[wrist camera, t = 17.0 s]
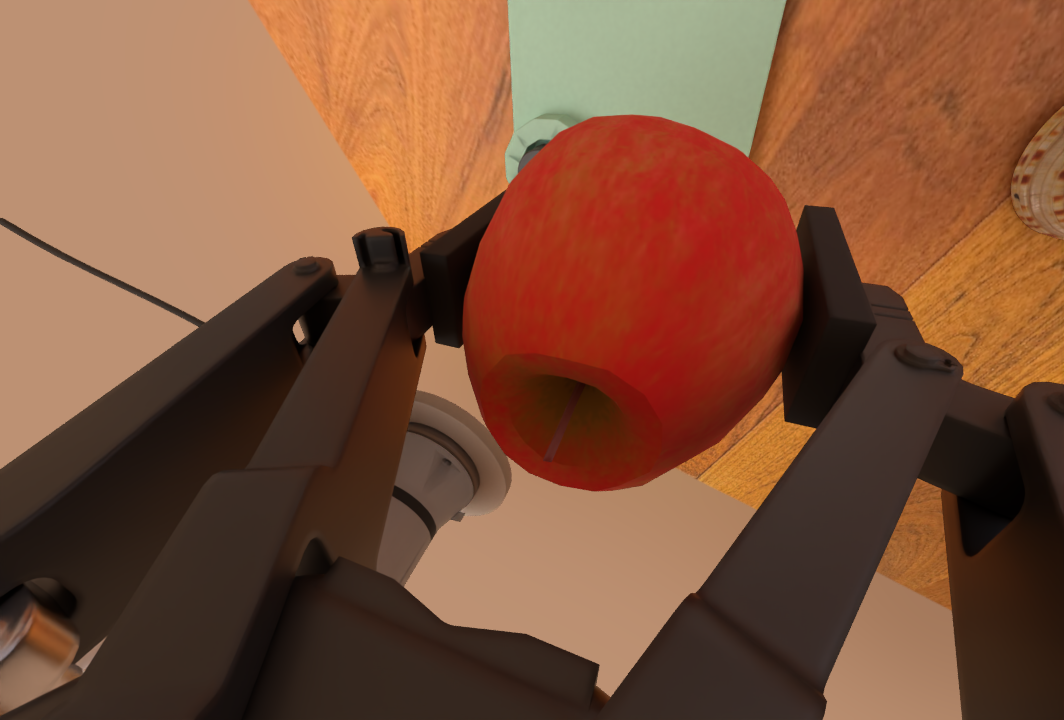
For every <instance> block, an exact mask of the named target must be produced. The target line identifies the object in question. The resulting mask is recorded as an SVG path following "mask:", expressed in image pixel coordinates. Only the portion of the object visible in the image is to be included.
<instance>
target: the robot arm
mask: <svg viewBox="0 0 1064 720" xmlns="http://www.w3.org/2000/svg"><path fill="white" fill-rule="evenodd" d="M505 192H506V190H505V191H504V192H502V193H501V194H500V195H498V196H497V197H495V198H494V199H493V200H491V201H490V202H489V203H487V204H486V205H484V206H483V207H482V208H480V209H479V210H477V211H476V212H475V213H473V214H472V215H471V216H469V217H468V218H466V219H465V220H464V221H462V222H461V223H459V224H458V225H457V226H455V227H454V228H453V229H450V230H447V231H444V232H441V233H439V234H437V235H435V236H434V237H433V238H431V239H430V240H429V241H428V242H426V243H424V244H423V245H421V247H418V248H417V249H416V250H414V251H413V252H411V253H410V254H408V249H407V243H406V238H405V233H404V231H402V230H401V229H399V228H395V227H377V228H371V229H367V230H363V231H361V232H359V233H357V234H355V235H354V236H353V237H352V240H353V244H354V247H355V251H356V255H357V259H358V262H359V266H360V268H359V270H358V272H357V274H356V275H336V271H335V268H334V265H333V262H332V261H331V260H330V259H327V258H322V257H307V258H306V257H304V258H300V259H299V260H297V261H294V262H292V263H290V264H288V265H286V266H284V267H283V268H282V269H280V270H279V271H277V272H276V273H274V274H273V275H272V276H270V277H269V278H268V279H266V280H265V281H263V282H262V283H260V284H259V285H258V286H257V287H255V288H253V289H252V290H251V291H249V292H248V293H246V294H245V295H244V296H242V297H241V298H240V299H238V300H237V301H235V302H234V303H232V304H231V305H230V306H228V307H227V308H225V309H224V310H223V311H222V312H220V313H219V314H217V315H216V316H214V317H213V318H212V319H210V320H209V321H208V322H206V323H205V322H203V321H201V320H199V319H197V318H196V317H194V316H192V315H190V314H188V313H186V312H184V311H182V310H180V309H178V308H176V307H174V306H172V305H170V304H168V303H166V302H164V301H162V300H160V299H158V298H156V297H154V296H152V295H150V294H148V293H146V292H143V291H142V290H140V289H137V288H135V287H133V286H131V285H129V284H127V283H125V282H123V281H121V280H118V279H117V278H114V277H112V276H110V275H108V274H106V273H104V272H102V271H100V270H98V269H95V268H94V267H91V266H90V265H87V264H85V263H83V262H81V261H79V260H77V259H75V258H73V257H72V256H70V255H68V254H66V253H64V252H62V251H60V250H58V249H56V248H54V247H52V246H51V245H49V244H46V243H45V242H43V241H41V240H40V239H38V238H36V237H34V236H32V235H31V234H29V233H27V232H26V231H24V230H22V229H21V228H19V227H17V226H16V225H14V224H12V223H10V222H9V221H7V220H5V219H3V218H0V224H1V225H2V226H4V227H6V228H8V229H9V230H11V231H13V232H14V233H16V234H18V235H19V236H21V237H23V238H25V239H26V240H28V241H30V242H32V243H33V244H35V245H37V246H39V247H40V248H42V249H44V250H46V251H48V252H50V253H51V254H53V255H55V256H57V257H59V258H61V259H63V260H65V261H67V262H69V263H71V264H73V265H75V266H77V267H79V268H81V269H83V270H85V271H87V272H89V273H91V274H93V275H95V276H97V277H99V278H101V279H103V280H105V281H108V282H110V283H112V284H114V285H116V286H118V287H120V288H122V289H124V290H126V291H128V292H130V293H132V294H135V295H137V296H139V297H141V298H143V299H145V300H147V301H149V302H151V303H153V304H155V305H157V306H159V307H161V308H163V309H165V310H167V311H169V312H171V313H173V314H175V315H177V316H179V317H181V318H183V319H185V320H186V321H188V322H191V323H192V324H194V325H196V326H198V327H199V328H198V329H196V330H195V331H193V332H192V333H191V334H189V335H188V336H186V337H185V338H183V339H182V340H181V341H179V342H178V343H176V344H175V345H174V346H172V347H171V348H170V349H168V350H167V351H165V352H164V353H163V354H161V355H160V356H159V357H157V358H156V359H154V360H153V361H152V362H150V363H149V364H147V365H146V366H144V367H143V368H142V369H140V370H139V371H137V372H136V373H135V374H133V375H132V376H130V377H129V378H128V379H126V380H125V381H123V382H122V383H121V384H119V385H118V386H116V387H115V388H114V389H112V390H111V391H109V392H108V393H107V394H105V395H104V396H102V397H101V398H100V399H98V400H97V401H95V402H94V403H93V404H91V405H90V406H88V407H87V408H86V409H84V410H83V411H81V412H80V413H79V414H77V415H76V416H74V417H73V418H72V419H70V420H69V421H67V422H66V423H65V424H63V425H62V426H60V427H59V428H58V429H56V430H55V431H53V432H52V433H51V434H49V435H48V436H46V437H45V438H44V439H42V440H41V441H39V442H38V443H37V444H35V445H34V446H32V447H31V448H30V449H28V450H27V451H25V452H24V453H23V454H21V455H20V456H18V457H17V458H16V459H14V460H13V461H12V462H10V463H9V464H7V465H6V466H5V467H3V468H2V469H0V720H822V719H823V717H824V714H825V709H826V703H827V701H826V699H825V697H824V695H823V693H824V688H825V685H826V683H827V680H828V677H829V675H830V673H831V671H832V668H833V666H834V664H835V662H836V659H837V657H838V655H839V652H840V650H841V648H842V646H843V644H844V641H845V639H846V637H847V635H848V632H849V630H850V628H851V626H852V623H853V621H854V619H855V617H856V614H857V612H858V610H859V607H860V605H861V603H862V601H863V599H864V596H865V594H866V592H867V590H868V587H869V585H870V583H871V581H872V578H873V576H874V574H875V572H876V569H877V567H878V565H879V563H880V560H881V558H882V556H883V554H884V551H885V549H886V547H887V545H888V542H889V540H890V538H891V536H892V533H893V531H894V529H895V527H896V524H897V522H898V520H899V518H900V515H901V513H902V511H903V509H904V506H905V504H906V502H907V500H908V497H909V495H910V493H911V491H912V488H913V486H914V484H915V482H916V479H917V478H918V479H921V480H923V481H925V482H927V483H930V484H932V485H934V486H937V487H939V488H941V489H942V491H941V499H942V510H943V520H944V531H945V541H946V552H947V563H948V573H949V584H950V594H951V605H952V615H953V626H954V635H955V646H956V657H957V668H958V679H959V689H960V700H961V710H962V720H1064V385H1063V384H1057V383H1052V382H1033V383H1031V384H1029V385H1027V386H1025V387H1024V388H1023V389H1022V390H1021V392H1020V393H1019V394H1018V395H1017V396H1016V398H1012V397H1009V396H1006V395H1003V394H1000V393H997V392H994V391H991V390H988V389H985V388H982V387H979V386H976V385H974V384H971V383H968V382H966V381H964V380H962V379H961V378H962V376H963V366H962V365H961V364H960V363H959V362H958V360H957V359H956V358H955V357H953V356H952V355H950V354H949V353H947V352H945V351H944V350H942V349H940V348H937V347H935V346H932V345H930V344H928V343H925V342H924V340H923V338H922V336H921V334H920V332H919V330H918V328H917V326H916V324H915V322H914V321H912V320H913V318H912V316H911V314H910V312H909V311H908V308H907V305H906V303H905V301H904V299H903V298H902V297H901V296H900V295H899V294H897V293H896V292H895V291H893V290H892V289H891V288H889V287H888V286H882V285H875V284H868V283H862V282H861V280H860V277H859V274H858V271H857V269H856V266H855V263H854V261H853V258H852V255H851V253H850V250H849V247H848V244H847V242H846V239H845V236H844V234H843V231H842V228H841V225H840V223H839V220H838V217H837V215H836V212H835V209H834V208H829V207H818V206H808V205H805V206H804V209H803V212H802V215H801V218H800V221H799V224H798V227H797V230H796V232H797V236H798V241H799V246H800V252H801V257H802V262H803V268H804V275H803V321H802V324H801V326H800V329H799V331H798V334H797V336H796V338H795V341H794V343H793V346H792V348H791V351H790V353H789V356H788V358H787V360H786V363H785V365H784V368H783V370H782V385H783V402H784V419H785V421H786V422H790V423H794V424H799V425H803V426H808V427H812V428H817V429H816V430H815V432H814V433H813V434H812V436H811V437H810V438H809V440H808V441H807V443H806V444H805V445H804V447H803V448H802V449H801V451H800V452H799V454H798V455H797V456H796V458H795V459H794V460H793V462H792V463H791V465H790V466H789V467H788V469H787V470H786V471H785V473H784V474H783V476H782V477H781V478H780V480H779V481H778V482H777V484H776V485H775V487H774V488H773V489H772V491H771V492H770V493H769V495H768V496H767V498H766V499H765V500H764V502H763V503H762V504H761V506H760V507H759V509H758V510H757V511H756V513H755V514H754V515H753V517H752V518H751V520H750V521H749V522H748V524H747V525H746V526H745V528H744V529H743V530H742V532H741V533H740V535H739V536H738V537H737V539H736V540H735V542H734V543H733V544H732V546H731V547H730V548H729V550H728V551H727V552H726V554H725V555H724V557H723V558H722V559H721V561H720V562H719V564H718V565H717V566H716V568H715V569H714V570H713V572H712V573H711V575H710V576H709V577H708V579H707V580H706V581H705V583H704V584H703V585H702V586H701V588H700V589H699V590H698V591H697V592H696V593H691V594H689V595H688V596H687V597H686V598H685V599H684V600H683V602H682V603H681V604H680V605H679V607H678V608H677V609H676V610H675V612H674V613H673V614H672V616H671V617H670V618H669V620H668V621H667V622H666V624H665V625H664V626H663V628H662V629H661V630H660V632H659V633H658V634H657V636H656V637H655V638H654V640H653V641H652V643H651V644H650V645H649V647H648V648H647V649H646V651H645V652H644V653H643V655H642V656H641V657H640V659H639V660H638V662H637V663H636V664H635V665H634V667H633V668H632V669H631V671H630V672H629V673H628V675H627V676H626V678H625V679H624V680H623V682H622V683H621V684H620V686H619V687H618V688H617V690H616V691H615V692H614V694H613V695H612V696H611V697H610V696H608V695H607V694H606V693H605V692H603V691H602V690H601V689H600V688H599V687H597V686H596V683H597V677H598V671H599V664H597V663H594V662H592V661H590V660H587V659H585V658H582V657H580V656H578V655H575V654H573V653H570V652H568V651H566V650H563V649H561V648H558V647H556V646H554V645H551V644H549V643H546V642H544V641H542V640H539V639H537V638H535V637H532V636H530V635H527V634H522V633H512V632H505V631H496V630H487V629H477V628H469V627H461V626H453V625H449V624H447V623H445V622H443V621H442V620H440V619H439V618H438V617H437V616H436V615H435V614H434V613H432V612H431V611H430V610H429V609H428V608H427V607H426V606H425V605H423V604H422V603H421V602H420V601H419V600H418V599H417V598H415V597H414V596H413V595H412V594H411V593H410V592H409V591H407V590H406V589H405V588H404V585H405V584H406V582H407V580H408V579H409V577H410V575H411V574H412V572H413V570H414V569H415V567H416V565H417V564H418V562H419V560H420V559H421V557H422V555H423V554H424V552H425V550H426V549H427V547H428V545H429V544H430V542H431V540H432V539H433V537H434V535H435V534H436V532H437V531H438V530H439V528H441V527H442V526H443V525H444V524H445V523H447V522H448V521H449V520H455V521H459V522H460V521H461V520H462V518H463V516H464V515H465V513H462V512H459V511H461V510H462V509H463V508H464V507H465V506H466V505H468V504H469V502H470V501H471V500H472V499H473V497H474V496H475V494H476V492H477V490H478V488H479V485H480V477H479V473H478V470H477V467H476V465H475V464H474V462H473V460H472V459H471V457H470V456H469V455H468V454H467V452H466V451H465V450H464V449H463V448H462V447H461V446H460V445H459V444H458V443H456V442H455V441H454V440H453V439H451V438H450V437H449V436H447V435H445V434H444V433H442V432H440V431H439V430H437V429H435V428H432V427H430V426H427V425H424V424H421V423H416V422H409V420H410V415H411V411H412V407H413V403H414V398H415V394H416V390H417V385H418V381H419V377H420V372H421V368H422V363H423V359H424V355H425V351H426V341H425V335H424V333H425V332H426V331H427V330H428V329H429V328H430V327H431V326H432V325H433V331H434V336H435V342H436V343H438V344H443V345H447V346H452V347H456V348H460V347H461V346H462V345H463V338H462V331H463V306H464V296H465V292H466V289H467V285H468V282H469V279H470V275H471V272H472V268H473V265H474V261H475V258H476V254H477V251H478V247H479V244H480V241H481V240H482V238H483V236H484V234H485V232H486V230H487V228H488V226H489V224H490V222H491V220H492V218H493V216H494V214H495V212H496V210H497V208H498V206H499V204H500V202H501V200H502V198H503V196H504V194H505ZM297 320H299V323H300V326H301V328H302V331H303V333H304V336H305V338H304V339H303V340H302V341H301V342H300V343H298V341H297V340H296V338H295V335H294V333H293V326H294V324H295V322H296V321H297Z"/></svg>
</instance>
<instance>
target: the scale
mask: <svg viewBox="0 0 1064 720" xmlns="http://www.w3.org/2000/svg"><path fill="white" fill-rule="evenodd" d="M785 4H786V0H508V18H509V38H510V59H511V80H512V101H513V122H514V134H513V136H512V138H511V141H510V143H509V145H508V147H507V150H506V152H505V165H506V179H507V181H508V183H509V184H510V182H511V181H512V180H513V179H514V178H515V177H516V175H517V174H518V165H519V162H520V160H521V158H522V157H523V155H525V154H526V153H527V152H528V151H530V150H532V149H533V148H535V147H536V146H538V145H541V144H548V143H549V142H550V141H551V140H552V139H553V138H554V137H555V136H556V135H557V134H558V133H559V132H561V131H563V130H565V129H567V128H569V127H572V126H574V125H576V124H578V123H581V122H583V121H585V120H587V119H590V118H592V117H597V116H614V115H630V114H633V115H645V116H657V117H662V118H666V119H669V120H672V121H675V122H679V123H682V124H685V125H688V126H691V127H695V128H697V129H699V130H701V131H703V132H705V133H707V134H709V135H711V136H713V137H715V138H717V139H719V140H721V141H723V142H725V143H727V144H730V145H732V146H734V147H736V148H737V149H739V150H740V151H742V152H743V153H744V154H745V155H746V156H747V157H748V158H749V154H750V150H751V146H752V141H753V137H754V133H755V129H756V125H757V121H758V116H759V112H760V108H761V104H762V100H763V96H764V91H765V87H766V83H767V79H768V75H769V71H770V67H771V62H772V58H773V54H774V50H775V46H776V42H777V37H778V33H779V29H780V25H781V21H782V17H783V12H784V8H785Z"/></svg>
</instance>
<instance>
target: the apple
mask: <svg viewBox="0 0 1064 720" xmlns="http://www.w3.org/2000/svg"><path fill="white" fill-rule="evenodd" d="M803 275H804V268H803V262H802V257H801V252H800V246H799V241H798V236H797V232H796V229H795V226H794V224H793V221H792V218H791V215H790V212H789V209H788V206H787V204H786V201H785V199H784V197H783V196H782V195H781V193H780V192H779V190H778V189H777V187H776V186H775V184H774V183H773V181H772V180H771V178H770V177H769V176H768V175H767V174H766V173H765V172H764V171H762V170H761V169H760V168H759V167H758V166H757V165H756V164H755V163H754V162H753V161H751V160H750V159H749V158H748V157H747V156H746V155H745V154H744V153H743V152H742V151H740V150H739V149H737V148H736V147H734V146H732V145H730V144H727V143H725V142H723V141H721V140H719V139H717V138H715V137H713V136H711V135H709V134H707V133H705V132H703V131H701V130H699V129H697V128H695V127H691V126H688V125H685V124H682V123H679V122H675V121H672V120H669V119H666V118H662V117H657V116H645V115H633V114H630V115H614V116H597V117H592V118H590V119H587V120H585V121H583V122H581V123H578V124H576V125H574V126H572V127H569V128H567V129H565V130H563V131H561V132H559V133H558V134H557V135H556V136H555V137H554V138H553V139H552V140H551V141H550V142H549V143H548V144H547V145H546V146H545V147H544V148H543V149H541V150H540V151H539V152H538V153H537V154H536V155H535V156H534V157H533V158H532V159H531V160H530V161H529V162H528V163H527V164H526V165H525V167H524V168H523V169H522V170H521V171H520V172H519V173H518V174H517V175H516V177H515V178H514V179H513V180H512V181H511V182H510V184H509V186H508V188H507V190H506V192H505V194H504V196H503V198H502V200H501V202H500V204H499V206H498V208H497V210H496V212H495V214H494V216H493V218H492V220H491V222H490V224H489V226H488V228H487V230H486V232H485V234H484V236H483V238H482V240H481V241H480V244H479V247H478V251H477V254H476V258H475V261H474V265H473V268H472V272H471V275H470V279H469V282H468V285H467V289H466V292H465V296H464V306H463V331H462V338H463V344H464V350H465V356H466V363H467V369H468V375H469V378H470V381H471V384H472V387H473V391H474V394H475V397H476V400H477V403H478V406H479V409H480V412H481V415H482V418H483V420H484V422H485V424H486V426H487V428H488V429H489V431H490V432H491V434H492V436H493V437H494V439H495V440H496V442H497V443H498V445H499V446H500V448H501V449H502V451H503V452H504V454H505V455H507V456H508V457H509V458H511V459H512V460H513V461H514V462H516V463H517V464H518V465H520V466H521V467H522V468H523V469H525V470H526V471H527V472H528V473H530V474H533V475H535V476H538V477H540V478H543V479H545V480H548V481H550V482H553V483H555V484H558V485H561V486H566V487H572V488H577V489H583V490H589V491H613V490H619V489H625V488H631V487H637V486H642V485H644V484H646V483H648V482H650V481H651V480H653V479H655V478H657V477H659V476H660V475H662V474H664V473H666V472H667V471H669V470H671V469H673V468H675V467H677V466H678V465H680V464H682V463H684V462H686V461H687V460H689V459H691V458H693V457H694V456H696V455H698V454H700V453H701V452H703V451H705V450H707V449H708V448H710V447H712V446H713V445H715V444H717V443H719V442H720V441H721V440H722V439H723V438H724V437H725V436H726V435H727V434H728V433H729V432H730V431H731V430H732V429H733V428H734V427H735V425H736V424H737V423H738V422H739V421H740V420H741V419H742V418H743V417H744V416H745V415H746V414H747V413H748V412H749V411H750V410H751V409H752V408H753V407H754V406H755V405H756V404H757V403H758V402H759V401H760V400H761V399H762V398H763V397H764V395H765V394H766V393H767V391H768V390H769V388H770V387H771V386H772V384H773V383H774V381H775V380H776V379H777V377H778V376H779V374H780V373H781V371H782V370H783V368H784V365H785V363H786V360H787V358H788V356H789V353H790V351H791V348H792V346H793V343H794V341H795V338H796V336H797V334H798V331H799V329H800V326H801V324H802V321H803Z"/></svg>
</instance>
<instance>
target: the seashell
mask: <svg viewBox="0 0 1064 720" xmlns="http://www.w3.org/2000/svg"><path fill="white" fill-rule="evenodd" d="M1011 197H1012V203H1013V207H1014V209H1015V212H1016V214H1017V215H1018V217H1019V218H1020V219H1021V220H1022V221H1023V222H1024V223H1025V224H1026V225H1027V226H1028V227H1029V228H1031V229H1033V230H1035V231H1037V232H1039V233H1042V234H1045V235H1048V236H1051V237H1054V238H1058V239H1062V240H1064V106H1063V107H1062V108H1061V109H1059V110H1058V111H1057V112H1056V113H1055V114H1054V115H1053V116H1052V117H1051V118H1050V119H1049V120H1048V121H1047V122H1046V123H1045V124H1044V125H1043V127H1042V128H1041V129H1040V130H1039V131H1038V132H1037V134H1036V135H1035V136H1034V138H1033V139H1032V140H1031V142H1030V143H1029V144H1028V146H1027V147H1026V149H1025V151H1024V152H1023V154H1022V156H1021V157H1020V159H1019V162H1018V164H1017V166H1016V168H1015V171H1014V174H1013V178H1012V182H1011Z"/></svg>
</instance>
